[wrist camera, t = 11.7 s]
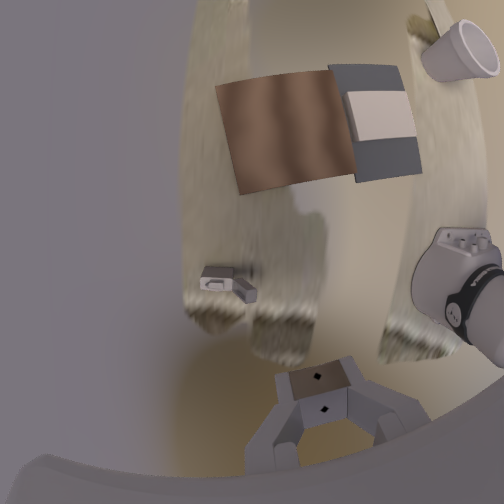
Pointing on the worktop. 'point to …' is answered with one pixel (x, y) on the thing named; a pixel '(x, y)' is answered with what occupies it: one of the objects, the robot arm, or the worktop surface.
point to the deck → (286, 129)
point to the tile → (378, 115)
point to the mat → (378, 151)
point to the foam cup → (461, 54)
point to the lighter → (227, 283)
